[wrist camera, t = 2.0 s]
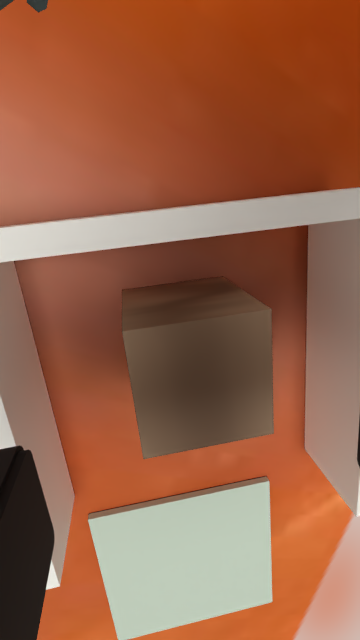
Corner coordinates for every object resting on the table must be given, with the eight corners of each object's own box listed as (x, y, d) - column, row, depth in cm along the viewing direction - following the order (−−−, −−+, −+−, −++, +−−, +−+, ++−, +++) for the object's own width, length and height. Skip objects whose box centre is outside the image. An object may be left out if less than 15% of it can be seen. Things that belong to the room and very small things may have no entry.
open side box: (328, 190, 17) (409, 182, 12) (319, 445, 21) (375, 512, 17) (-20, 228, 15) (-87, 237, 10) (56, 499, 19) (36, 591, 15)
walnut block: (222, 276, 17) (271, 309, 11) (228, 365, 19) (273, 433, 13) (121, 289, 16) (122, 331, 11) (136, 381, 18) (143, 459, 12)
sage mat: (266, 476, 21) (269, 480, 21) (269, 596, 25) (272, 601, 25) (88, 514, 20) (87, 519, 20) (118, 634, 24) (118, 641, 23)
